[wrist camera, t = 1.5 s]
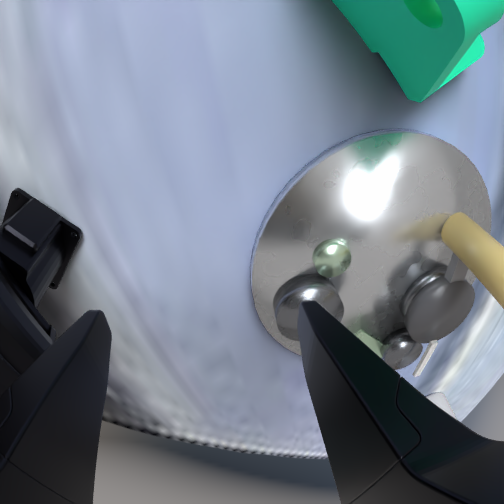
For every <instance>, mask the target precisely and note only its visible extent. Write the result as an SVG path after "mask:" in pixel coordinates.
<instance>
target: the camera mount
mask: <svg viewBox="0 0 504 504" xmlns="http://www.w3.org/2000/svg"><path fill="white" fill-rule="evenodd" d="M332 1H333V3H334V4H335V5H336V6H337V7H338V9H339V10H340V11H341V12H342V13H343V15H344V16H345V17H346V18H347V20H348V21H349V22H350V23H351V25H352V26H353V27H354V29H355V30H356V31H357V33H358V34H359V35H360V37H361V38H362V39H363V41H364V42H365V43H366V45H367V46H368V48H369V49H370V50H371V52H379V54H380V55H381V57H382V58H383V60H384V61H385V63H386V64H387V66H388V67H389V69H390V71H391V72H392V74H393V75H394V77H395V79H396V80H397V82H398V83H399V85H400V87H401V88H402V90H403V92H404V93H405V95H406V97H407V99H409V100H413V101H416V102H420V103H421V102H422V101H424V100H425V99H426V98H428V97H429V96H430V95H431V94H433V93H434V92H435V91H437V90H438V89H439V88H441V87H442V86H443V85H445V84H446V83H447V82H449V81H450V80H451V79H453V78H454V77H455V76H457V75H458V74H459V73H461V72H462V71H463V70H465V69H466V68H467V67H469V66H470V65H471V64H473V63H474V62H475V61H477V60H478V59H479V58H481V57H482V56H483V54H484V49H485V47H484V41H483V39H482V36H481V34H480V33H481V32H483V31H484V30H486V29H487V28H489V27H490V26H492V25H493V24H495V23H496V22H498V21H499V20H500V19H501V17H502V15H503V13H504V0H332Z"/></svg>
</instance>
